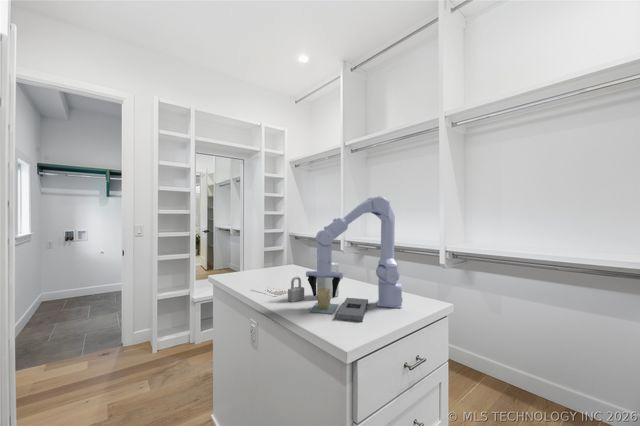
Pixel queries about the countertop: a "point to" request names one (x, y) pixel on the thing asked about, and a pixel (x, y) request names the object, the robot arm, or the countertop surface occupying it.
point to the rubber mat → (324, 311)
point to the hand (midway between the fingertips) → (324, 296)
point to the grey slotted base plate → (353, 309)
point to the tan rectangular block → (324, 298)
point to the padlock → (295, 291)
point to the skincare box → (328, 281)
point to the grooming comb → (277, 292)
